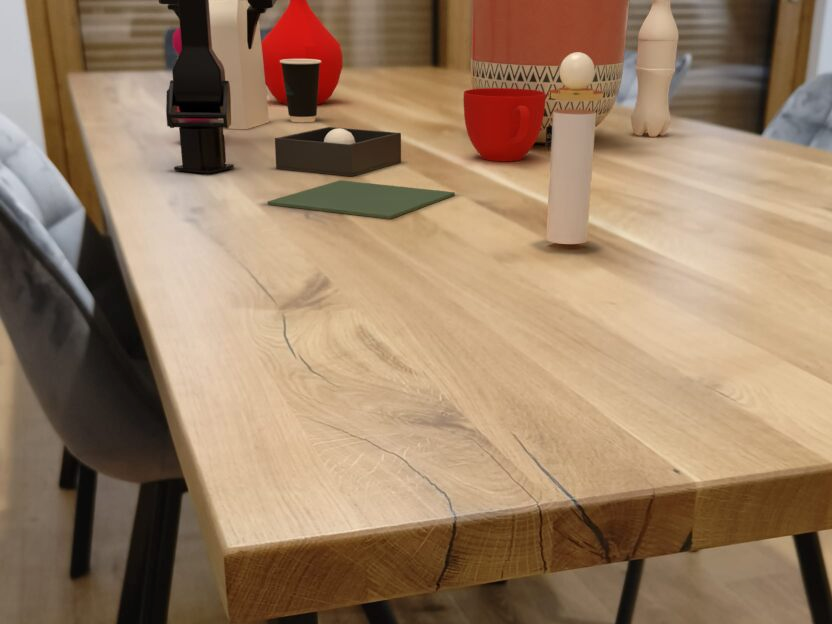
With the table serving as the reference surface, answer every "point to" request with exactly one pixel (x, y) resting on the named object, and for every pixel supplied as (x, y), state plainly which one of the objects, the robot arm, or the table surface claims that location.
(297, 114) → the dixie cup
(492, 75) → the planter
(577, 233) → the perfume bottle
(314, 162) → the black box
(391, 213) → the placemat
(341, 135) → the mushroom
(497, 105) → the ceramic cup
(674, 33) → the water bottle
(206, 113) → the robot arm
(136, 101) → the table surface
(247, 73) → the milk
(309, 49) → the vase
